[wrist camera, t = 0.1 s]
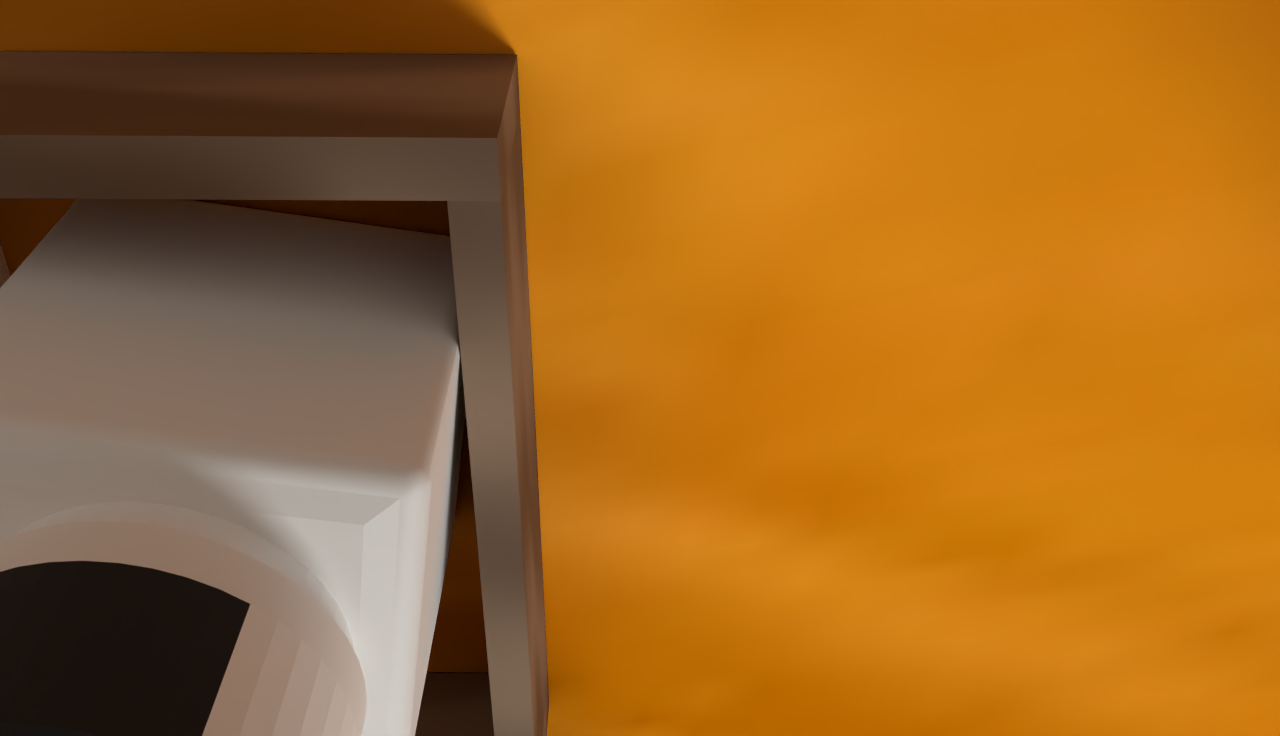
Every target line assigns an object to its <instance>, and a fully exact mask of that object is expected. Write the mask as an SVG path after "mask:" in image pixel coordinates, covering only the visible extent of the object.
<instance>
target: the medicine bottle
mask: <svg viewBox="0 0 1280 736" xmlns="http://www.w3.org/2000/svg"><path fill="white" fill-rule="evenodd" d="M465 411H466V409H465V398H464V386H463V375H462V364H461V352H460V341H459V330H458V319H457V307H456V296H455V285H454V273H453V262H452V251H451V239H450V236H445V235H438V234H431V233H423V232H416V231H409V230H402V229H395V228H388V227H380V226H373V225H366V224H359V223H352V222H345V221H337V220H330V219H323V218H316V217H309V216H302V215H294V214H287V213H280V212H273V211H266V210H259V209H251V208H244V207H237V206H230V205H223V204H216V203H208V202H201V201H194V200H187V199H77V200H76V201H75V202H74V203H73V205H72V206H71V207H70V208H69V209H68V210H67V212H66V213H65V214H64V215H63V216H62V217H61V219H60V220H59V221H58V222H57V223H56V224H55V225H54V227H53V228H52V229H51V230H50V231H49V232H48V234H47V235H46V236H45V237H44V238H43V239H42V240H41V242H40V243H39V244H38V245H37V246H36V247H35V249H34V250H33V251H32V252H31V253H30V254H29V256H28V257H27V258H26V259H25V260H24V261H23V262H22V264H21V265H20V266H19V267H18V268H17V269H16V271H15V272H14V273H13V274H12V275H11V276H10V277H9V279H8V280H7V281H6V282H5V283H4V284H3V286H2V287H1V288H0V736H415V732H416V727H417V721H418V716H419V711H420V705H421V700H422V695H423V689H424V684H425V678H426V673H427V668H428V662H429V657H430V652H431V646H432V641H433V635H434V630H435V625H436V619H437V614H438V609H439V603H440V598H441V592H442V587H443V582H444V576H445V571H446V566H447V560H448V555H449V549H450V544H451V539H452V533H453V528H454V521H455V511H456V501H457V491H458V481H459V471H460V461H461V451H462V441H463V431H464V421H465Z"/></svg>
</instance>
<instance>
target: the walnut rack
mask: <svg viewBox="0 0 1280 736" xmlns="http://www.w3.org/2000/svg"><path fill="white" fill-rule="evenodd" d="M0 198H33V199H206V200H379V201H447V205H448V217H449V228H450V239H451V251H452V262H453V273H454V285H455V296H456V307H457V319H458V330H459V341H460V352H461V364H462V375H463V386H464V398H465V409H466V420H467V432H468V443H469V454H470V466H471V477H472V488H473V500H474V511H475V522H476V533H477V545H478V556H479V567H480V579H481V590H482V601H483V613H484V624H485V635H486V647H487V658H488V669H489V673H426V678H425V684H424V689H423V695H422V700H421V705H420V711H419V716H418V721H417V727H416V732H415V736H547V722H548V709H549V692H548V672H547V652H546V631H545V611H544V591H543V571H542V551H541V531H540V510H539V490H538V470H537V450H536V430H535V409H534V389H533V369H532V349H531V329H530V308H529V288H528V268H527V248H526V228H525V207H524V187H523V167H522V147H521V127H520V106H519V86H518V66H517V55H483V54H333V53H183V52H33V51H0Z"/></svg>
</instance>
